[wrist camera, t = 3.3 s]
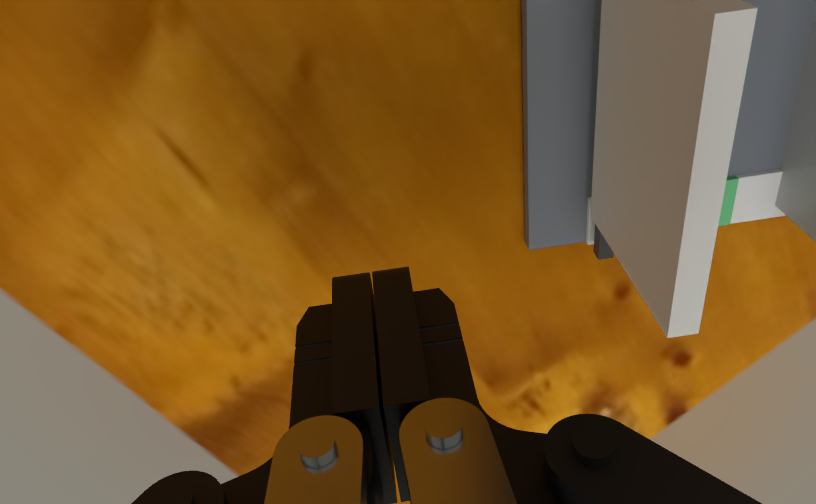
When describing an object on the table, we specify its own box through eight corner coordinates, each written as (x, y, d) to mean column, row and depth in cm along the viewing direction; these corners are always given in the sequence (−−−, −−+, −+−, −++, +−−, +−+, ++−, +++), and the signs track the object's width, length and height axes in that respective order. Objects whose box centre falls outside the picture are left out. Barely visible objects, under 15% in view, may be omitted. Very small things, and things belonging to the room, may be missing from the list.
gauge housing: (520, -108, 17) (627, -58, 11) (893, -160, 17) (1208, -140, 11) (524, 240, 24) (594, 399, 17) (800, 199, 24) (969, 342, 17)
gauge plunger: (604, -47, 17) (715, 14, 12) (634, -51, 17) (757, 7, 12) (588, 251, 22) (661, 377, 17) (611, 247, 22) (691, 372, 17)
